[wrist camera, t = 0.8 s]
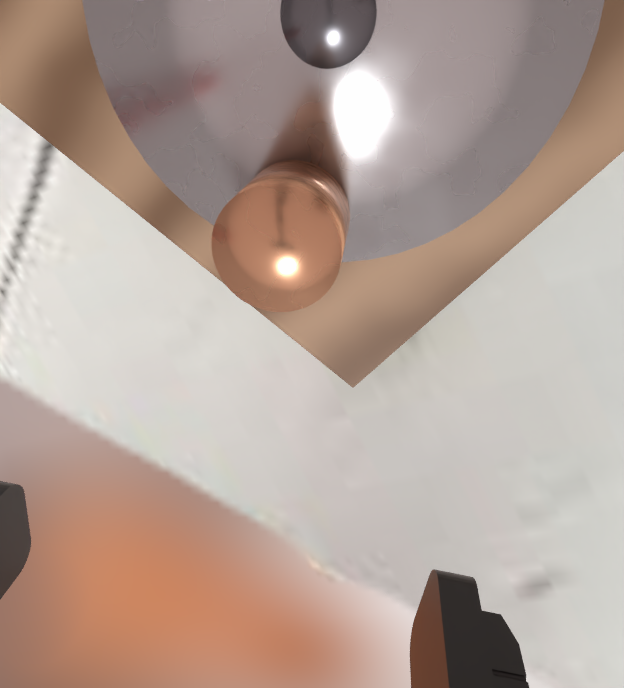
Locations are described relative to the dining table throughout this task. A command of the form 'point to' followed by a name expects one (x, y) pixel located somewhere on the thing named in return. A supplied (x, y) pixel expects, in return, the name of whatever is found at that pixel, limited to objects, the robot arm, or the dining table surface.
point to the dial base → (354, 277)
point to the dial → (336, 119)
